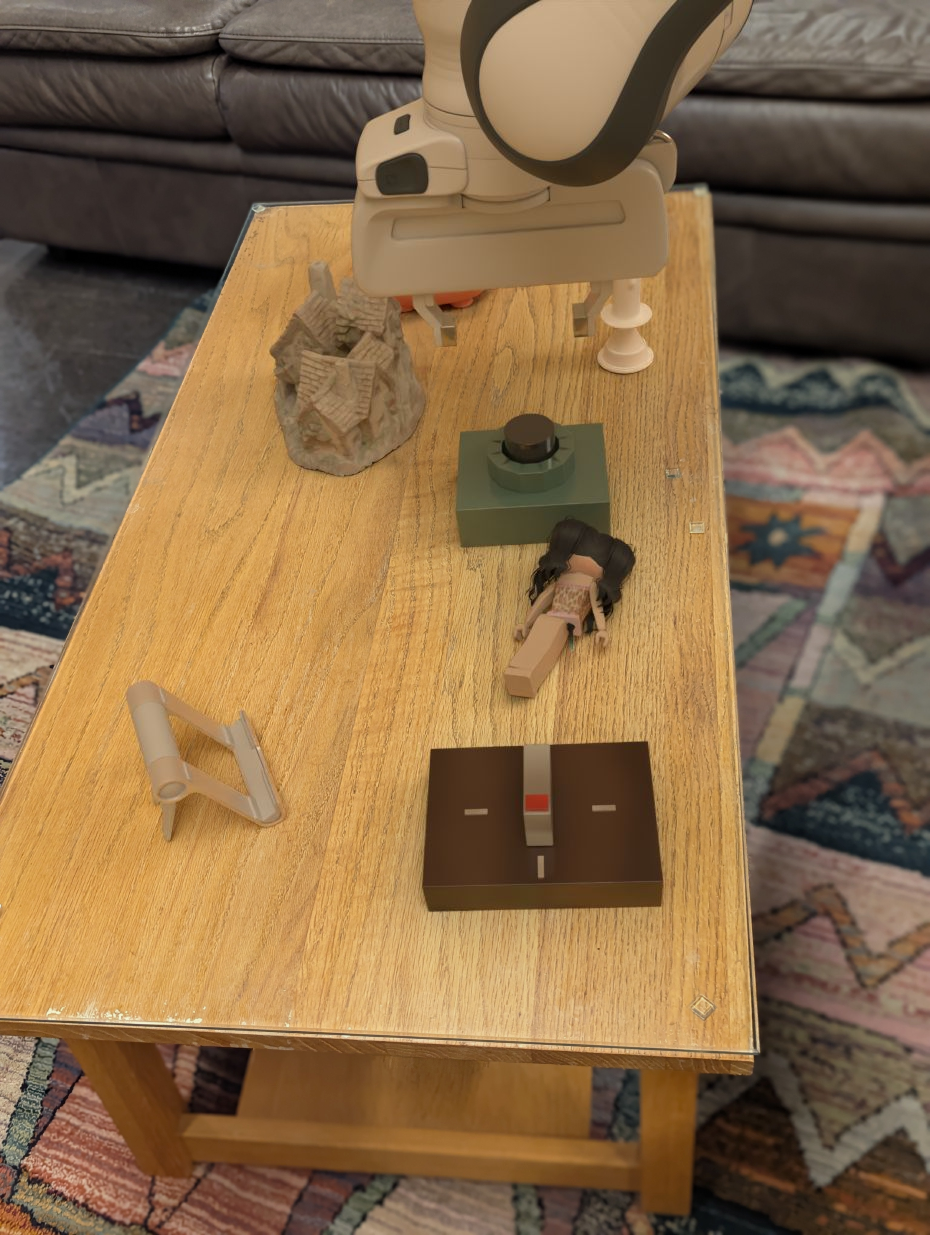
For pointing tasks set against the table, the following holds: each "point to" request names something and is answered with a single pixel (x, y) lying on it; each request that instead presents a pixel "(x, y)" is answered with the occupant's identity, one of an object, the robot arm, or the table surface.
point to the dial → (537, 795)
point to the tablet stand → (182, 779)
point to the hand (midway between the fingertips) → (514, 337)
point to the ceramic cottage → (344, 378)
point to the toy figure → (568, 599)
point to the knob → (529, 438)
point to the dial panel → (582, 830)
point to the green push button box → (530, 487)
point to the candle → (626, 329)
